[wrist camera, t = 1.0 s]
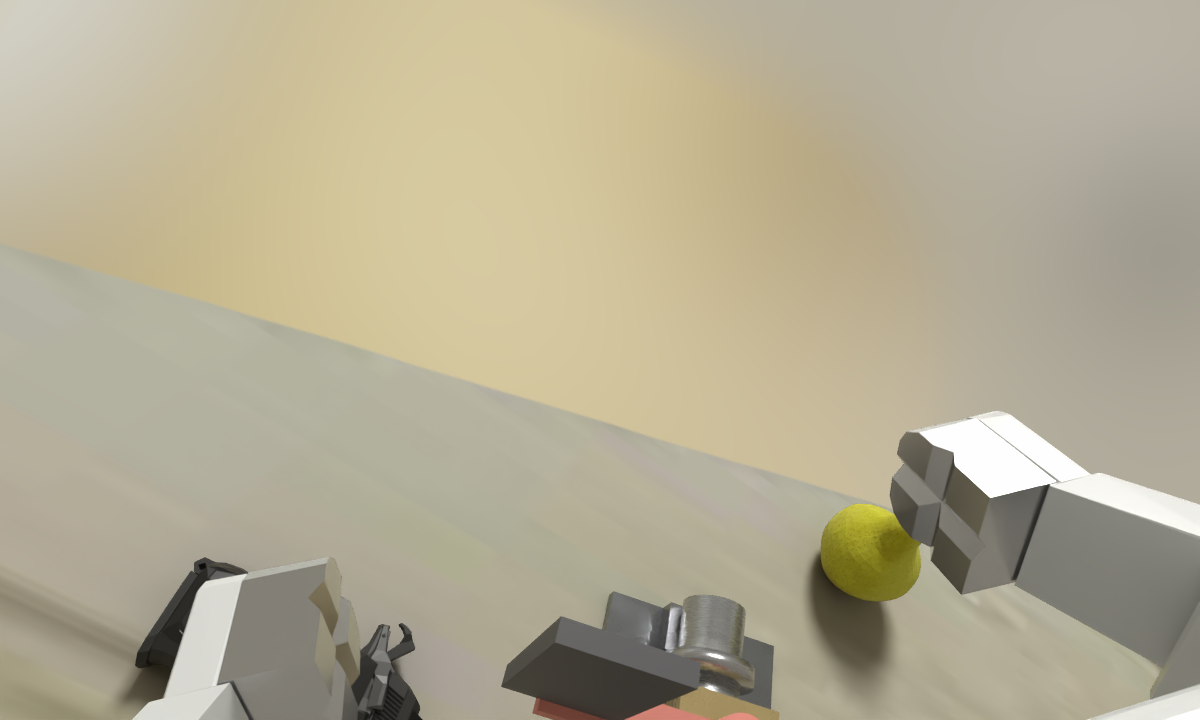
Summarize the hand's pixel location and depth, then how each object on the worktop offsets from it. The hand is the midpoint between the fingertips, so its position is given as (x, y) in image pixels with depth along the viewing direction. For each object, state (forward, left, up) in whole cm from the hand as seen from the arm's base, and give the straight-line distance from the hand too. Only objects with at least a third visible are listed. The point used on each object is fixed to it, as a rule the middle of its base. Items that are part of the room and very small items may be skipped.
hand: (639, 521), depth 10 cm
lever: (+11, +4, -28) cm, 31 cm away
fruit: (+28, +21, -36) cm, 51 cm away
